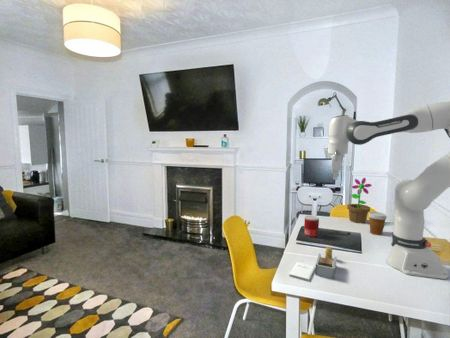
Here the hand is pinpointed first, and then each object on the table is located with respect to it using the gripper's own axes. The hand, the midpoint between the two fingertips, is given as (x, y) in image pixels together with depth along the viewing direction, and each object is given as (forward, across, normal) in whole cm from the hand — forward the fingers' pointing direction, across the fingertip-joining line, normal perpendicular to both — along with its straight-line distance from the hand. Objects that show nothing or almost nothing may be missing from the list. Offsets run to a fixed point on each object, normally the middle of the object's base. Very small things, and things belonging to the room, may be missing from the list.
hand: (335, 178), depth 128 cm
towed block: (+38, -15, +1) cm, 41 cm away
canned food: (+39, +19, +13) cm, 45 cm away
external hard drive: (+39, -26, +10) cm, 48 cm away
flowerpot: (+39, +60, -12) cm, 73 cm away
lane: (+38, -20, +1) cm, 43 cm away
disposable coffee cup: (+39, +40, -22) cm, 60 cm away
